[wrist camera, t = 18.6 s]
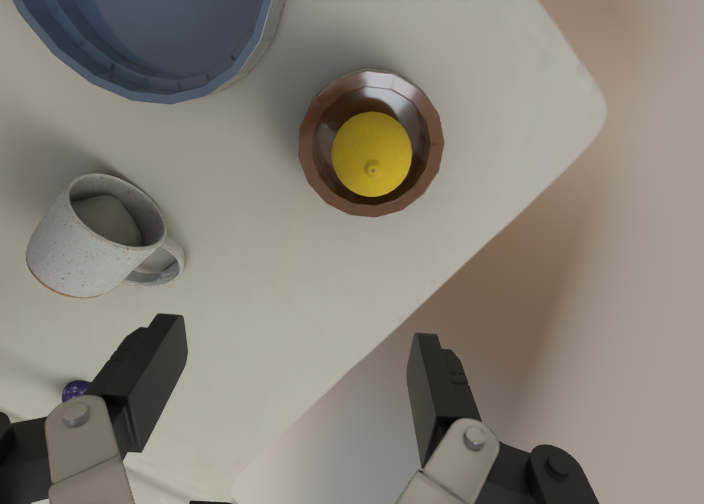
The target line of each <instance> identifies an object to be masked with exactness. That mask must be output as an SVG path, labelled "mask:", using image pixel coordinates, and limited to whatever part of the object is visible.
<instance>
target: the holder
mask: <svg viewBox="0 0 704 504" xmlns="http://www.w3.org/2000/svg"><path fill="white" fill-rule="evenodd" d="M365 112H380V113H383V114H386V115H388V116H391V117H392V118H393V119H395V120H396V121H398V122H399V123H400V124H401V126H402V127H403V128H404V129H405V131H406V133H407V135H408V137H409V139H410V143H411V149H412V158H411V165H410V168H409V171H408V173H407V175H406V177H405V178H404V180H403V181H402V183H401V184H400V185H399V186H398V187H396V188H395V189H394V190H393V191H391V192H389V193H387V194H384V195H381V196H376V197H367V196H363V195H359V194H357V193H355V192H353V191H351V190H350V189H348V188H347V187H346V186H345V185H344V184H343V183H342V182H341V180H340V179H339V178H338V176H337V174H336V172H335V169H334V167H333V162H332V146H333V141H334V139H335V137H336V134H337V132H338V131H339V129H340V128H341V127H342V125H343V124H344V123H345V122H346V121H348V120H349V119H350V118H351V117H353V116H356V115H358V114H360V113H365ZM443 148H444V138H443V133H442V128H441V123H440V117H439V115H438V112H437V111H436V109H435V108H434V106H433V105H432V103H431V102H430V101H429V99H428V98H427V96H426V95H425V93H424V92H423V90H421V89H420V88H419V87H418V86H416V85H415V84H413V83H411V82H410V81H408V80H406V79H405V78H404V77H402V76H400V75H398V74H397V73H395V72H393V71H387V70H381V69H369V68H363V69H360V70H356V71H352V72H349V73H346V74H344V75H342V76H339V77H337V78H335V79H334V80H333V81H332V82H331V83H330V84H328V85H327V86H326V87H325V88H324V89H323V90H322V91H321V92H320V93H319V94H318V95H316V97H315V98H314V100H313V101H312V103H311V105H310V107H309V109H308V111H307V114H306V116H305V118H304V120H303V122H302V124H301V127H300V135H299V159H300V162H301V164H302V167H303V170H304V173H305V175H306V178H307V181H308V183H309V184H310V185H311V187H312V188H313V189H314V190H315V191H316V192H317V193H318V194H319V195H320V197H321V198H322V199H323V200H324V201H325V202H327V204H329V205H331V206H333V207H335V208H337V209H339V210H341V211H343V212H345V213H347V214H350V215H356V216H367V217H378V216H382V215H386V214H389V213H393V212H397V211H400V210H403V209H404V208H405V207H407V206H408V205H410V204H411V203H412V202H414V201H415V200H417V199H418V198H419V197H421V196H422V195H423V194H424V193H425V191H426V190H427V188H428V187H429V185H430V184H431V182H432V181H433V179H434V178H435V176H436V175H437V173H438V171H439V168H440V163H441V158H442V153H443Z"/></svg>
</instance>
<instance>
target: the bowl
mask: <svg viewBox="0 0 704 504" xmlns="http://www.w3.org/2000/svg"><path fill="white" fill-rule="evenodd" d="M284 1H285V0H13V2H14V4H15V6H16V8H17V10H18V12H19V13H20V15H21V16H22V17H23V18H24V20H25V21H26V22H27V23H28V24H29V26H30V27H31V28H32V29H33V30H34V32H35V33H36V34H37V35H38V36H39V38H40V39H41V40H42V41H43V42H44V44H45V45H46V46H47V47H48V48H49V50H50V51H51V52H52V53H53V54H54V55H55V56H56V57H58V58H59V59H60V60H62V61H63V62H64V63H65V64H67V65H68V66H69V67H71V68H72V69H73V70H75V71H76V72H77V73H79V74H80V75H81V76H83V77H84V78H85V79H86V80H88V81H89V82H90V83H92V84H94V85H96V86H99V87H101V88H104V89H106V90H108V91H111V92H113V93H115V94H118V95H120V96H123V97H125V98H127V99H130V100H133V101H143V102H152V103H162V104H175V103H179V102H183V101H187V100H192V99H196V98H200V97H204V96H207V95H210V94H213V93H215V92H218V91H220V90H223V89H225V88H227V87H228V86H230V85H231V84H233V83H234V82H236V81H237V80H238V79H240V78H241V77H243V76H244V75H246V74H247V73H249V72H250V71H251V70H252V69H253V68H254V66H255V65H256V64H257V62H258V61H259V59H260V58H261V57H262V55H263V54H264V52H265V51H266V49H267V48H268V47H269V45H270V44H271V42H272V40H273V38H274V35H275V31H276V28H277V25H278V22H279V18H280V15H281V12H282V8H283V5H284Z"/></svg>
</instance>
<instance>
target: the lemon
mask: <svg viewBox="0 0 704 504" xmlns="http://www.w3.org/2000/svg"><path fill="white" fill-rule="evenodd" d="M411 158H412V149H411V143H410V139H409V137H408V135H407V133H406V131H405V129H404V128H403V127H402V126H401V124H400V123H399V122H398V121H396V120H395V119H393V118H392V117H391V116H388V115H386V114H383V113H380V112H365V113H360V114H358V115H356V116H353V117H351V118H350V119H349V120H348V121H346V122H345V123H344V124H343V125H342V127H341V128H340V129H339V131H338V132H337V134H336V137H335V139H334V141H333V146H332V162H333V167H334V169H335V172H336V174H337V176H338V178H339V179H340V180H341V182H342V183H343V184H344V185H345V186H346V187H347V188H348V189H350V190H351V191H353V192H355V193H357V194H359V195H363V196H367V197H376V196H381V195H384V194H387V193H389V192H391V191H393V190H394V189H395V188H396V187H398V186H399V185H400V184H401V183H402V181H403V180H404V178H405V177H406V175H407V173H408V171H409V168H410V165H411Z"/></svg>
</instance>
